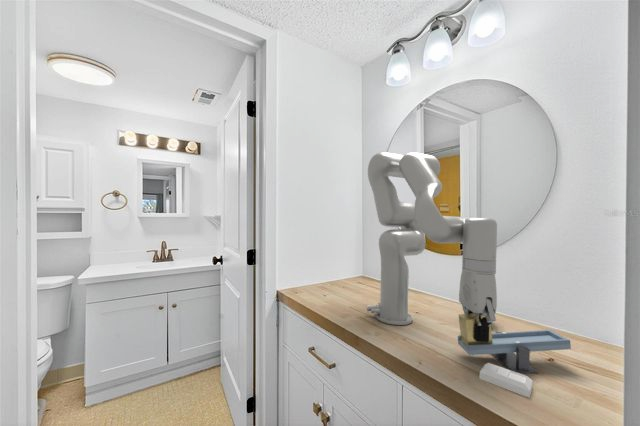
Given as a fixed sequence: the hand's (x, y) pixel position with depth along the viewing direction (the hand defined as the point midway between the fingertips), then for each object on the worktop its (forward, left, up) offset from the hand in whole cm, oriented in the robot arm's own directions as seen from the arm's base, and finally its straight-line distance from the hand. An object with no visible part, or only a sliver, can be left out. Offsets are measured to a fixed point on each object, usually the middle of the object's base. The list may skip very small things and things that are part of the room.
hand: (476, 336), depth 70 cm
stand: (+9, 0, -6) cm, 10 cm away
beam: (+9, 0, -1) cm, 9 cm away
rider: (0, 0, -2) cm, 2 cm away
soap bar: (+1, -10, -7) cm, 12 cm away
